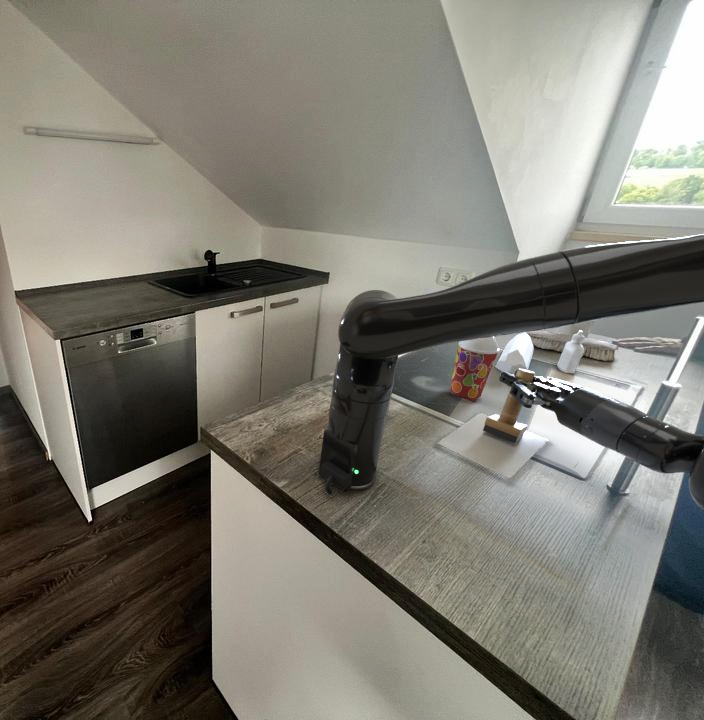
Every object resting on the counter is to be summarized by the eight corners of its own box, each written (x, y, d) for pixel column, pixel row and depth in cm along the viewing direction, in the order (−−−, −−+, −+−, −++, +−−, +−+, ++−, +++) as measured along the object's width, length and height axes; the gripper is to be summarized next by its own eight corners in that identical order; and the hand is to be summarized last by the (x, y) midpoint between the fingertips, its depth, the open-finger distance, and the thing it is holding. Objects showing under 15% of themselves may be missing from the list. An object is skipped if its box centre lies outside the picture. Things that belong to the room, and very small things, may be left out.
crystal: (502, 335, 128) (489, 357, 111) (528, 329, 122) (519, 351, 106) (509, 356, 128) (498, 381, 111) (536, 351, 123) (528, 376, 106)
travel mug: (592, 344, 132) (613, 292, 125) (568, 343, 132) (588, 291, 125) (573, 336, 139) (592, 286, 132) (550, 335, 139) (568, 286, 132)
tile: (508, 483, 69) (510, 478, 68) (435, 447, 78) (436, 443, 78) (547, 443, 79) (549, 439, 79) (479, 416, 89) (480, 412, 89)
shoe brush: (612, 356, 122) (619, 341, 120) (615, 364, 117) (622, 348, 115) (519, 339, 136) (524, 326, 134) (518, 345, 130) (523, 331, 128)
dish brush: (515, 443, 76) (542, 377, 72) (481, 430, 80) (505, 367, 76) (522, 438, 79) (548, 374, 75) (489, 425, 84) (512, 364, 80)
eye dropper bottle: (554, 370, 112) (569, 331, 107) (557, 364, 116) (572, 326, 111) (573, 375, 109) (589, 335, 105) (576, 369, 113) (592, 330, 108)
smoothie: (480, 392, 99) (504, 318, 91) (485, 407, 93) (511, 328, 85) (444, 386, 103) (463, 313, 95) (446, 400, 96) (467, 323, 88)
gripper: (643, 394, 64) (541, 354, 79) (579, 405, 61) (486, 361, 76) (623, 432, 67) (529, 387, 82) (561, 444, 64) (475, 394, 79)
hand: (509, 375), depth 79 cm, fingers closed on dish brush, 3 cm apart
